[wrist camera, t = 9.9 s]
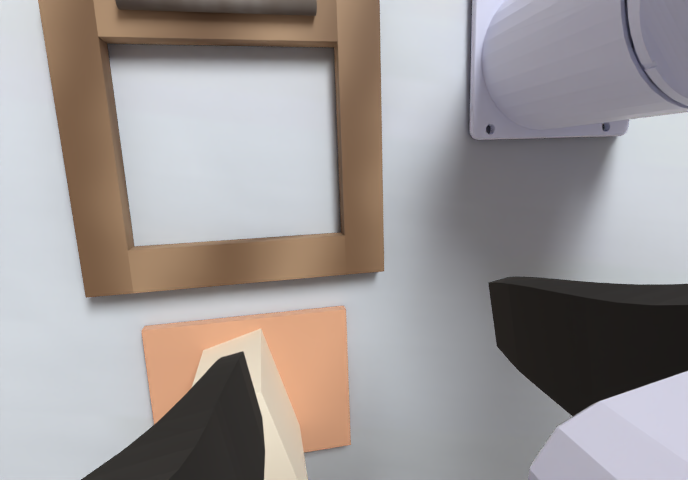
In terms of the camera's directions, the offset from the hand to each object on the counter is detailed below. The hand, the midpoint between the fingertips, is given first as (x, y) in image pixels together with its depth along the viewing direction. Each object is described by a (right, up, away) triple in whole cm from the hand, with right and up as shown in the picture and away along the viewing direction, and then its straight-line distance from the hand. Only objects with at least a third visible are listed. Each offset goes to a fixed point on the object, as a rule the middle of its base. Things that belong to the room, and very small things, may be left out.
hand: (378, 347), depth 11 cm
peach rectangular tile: (-6, -5, +10) cm, 13 cm away
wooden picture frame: (-6, +7, +8) cm, 13 cm away
